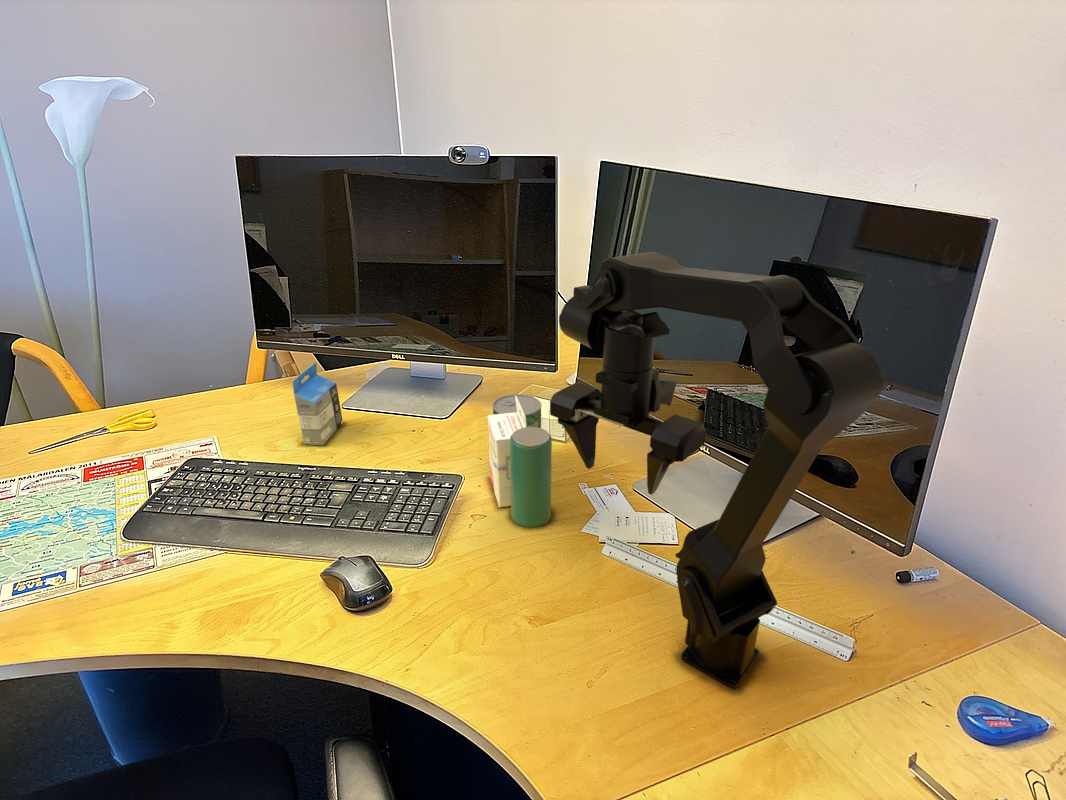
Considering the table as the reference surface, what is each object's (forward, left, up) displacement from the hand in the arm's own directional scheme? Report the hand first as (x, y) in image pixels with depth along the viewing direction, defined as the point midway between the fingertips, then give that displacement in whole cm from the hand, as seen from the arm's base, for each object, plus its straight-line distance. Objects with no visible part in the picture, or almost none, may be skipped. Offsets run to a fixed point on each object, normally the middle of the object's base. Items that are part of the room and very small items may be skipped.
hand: (620, 479), depth 84 cm
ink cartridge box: (+22, -4, -13) cm, 26 cm away
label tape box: (+61, +4, -13) cm, 63 cm away
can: (+16, -1, -13) cm, 20 cm away
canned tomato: (+27, -11, -13) cm, 32 cm away
